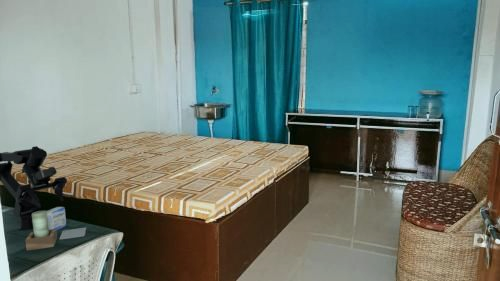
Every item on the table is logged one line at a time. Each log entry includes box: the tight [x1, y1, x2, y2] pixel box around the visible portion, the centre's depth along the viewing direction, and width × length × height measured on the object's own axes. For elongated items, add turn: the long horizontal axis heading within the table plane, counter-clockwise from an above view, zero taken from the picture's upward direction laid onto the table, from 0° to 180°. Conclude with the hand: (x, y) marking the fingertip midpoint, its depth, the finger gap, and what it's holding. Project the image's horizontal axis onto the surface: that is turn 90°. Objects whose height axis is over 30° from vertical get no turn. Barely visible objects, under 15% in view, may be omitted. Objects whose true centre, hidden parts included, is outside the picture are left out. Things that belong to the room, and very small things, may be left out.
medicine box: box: [46, 206, 67, 232], centre depth 156 cm, size 8×4×9 cm, turn 168°
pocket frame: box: [24, 229, 58, 251], centre depth 139 cm, size 9×9×4 cm
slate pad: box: [59, 227, 87, 240], centre depth 149 cm, size 9×9×1 cm
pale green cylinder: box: [32, 210, 49, 238], centre depth 139 cm, size 5×5×12 cm
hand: (51, 203), depth 147 cm, fingers open, 9 cm apart
